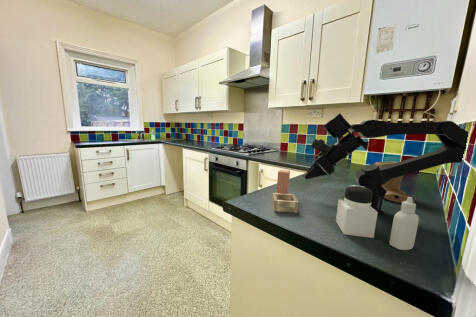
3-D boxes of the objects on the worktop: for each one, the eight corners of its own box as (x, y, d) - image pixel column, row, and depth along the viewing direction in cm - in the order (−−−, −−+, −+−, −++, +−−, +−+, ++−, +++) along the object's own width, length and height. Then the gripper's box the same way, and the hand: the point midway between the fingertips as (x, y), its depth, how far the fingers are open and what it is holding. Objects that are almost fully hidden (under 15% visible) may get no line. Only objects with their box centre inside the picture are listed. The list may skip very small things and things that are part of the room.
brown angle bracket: (368, 189, 88) (373, 157, 85) (401, 194, 83) (407, 160, 80) (374, 200, 74) (380, 162, 72) (414, 206, 69) (421, 166, 67)
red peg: (288, 194, 78) (290, 170, 76) (286, 197, 74) (288, 172, 73) (278, 192, 79) (280, 169, 78) (276, 195, 76) (278, 171, 74)
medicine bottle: (374, 238, 48) (381, 193, 46) (343, 234, 49) (349, 190, 47) (362, 224, 54) (367, 184, 53) (335, 221, 56) (340, 182, 54)
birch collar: (293, 203, 69) (294, 194, 68) (297, 212, 61) (298, 202, 60) (272, 202, 69) (272, 192, 69) (273, 210, 62) (274, 200, 61)
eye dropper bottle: (382, 238, 48) (390, 193, 46) (408, 241, 47) (417, 195, 45) (393, 249, 43) (402, 199, 41) (421, 253, 42) (432, 202, 40)
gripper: (326, 131, 75) (295, 156, 82) (326, 131, 59) (287, 162, 65) (346, 152, 73) (313, 176, 80) (352, 158, 57) (310, 188, 63)
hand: (306, 175), depth 72 cm, fingers open, 9 cm apart
